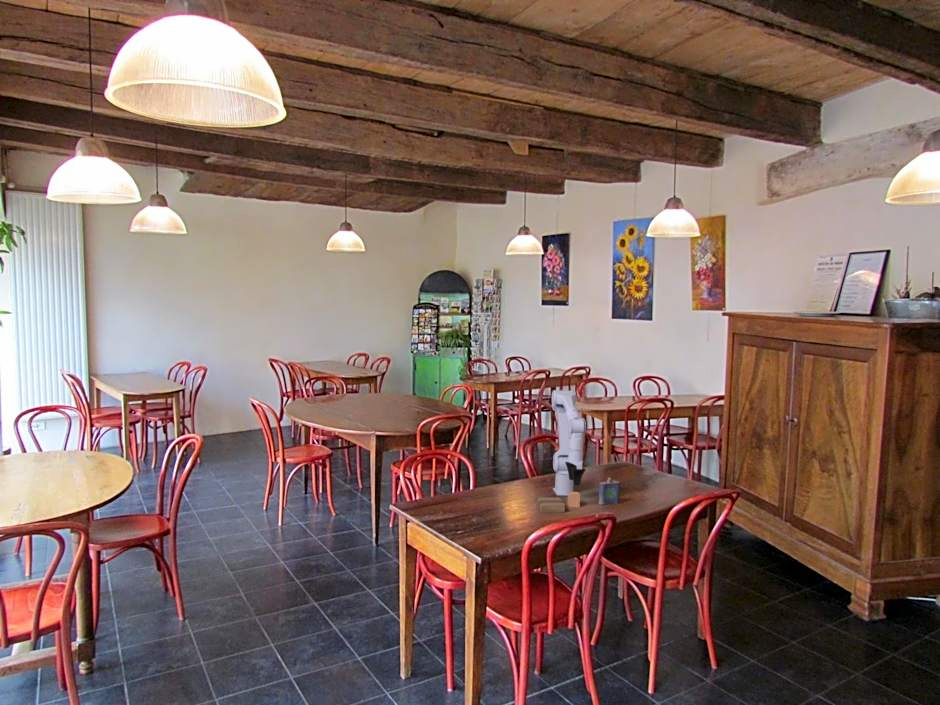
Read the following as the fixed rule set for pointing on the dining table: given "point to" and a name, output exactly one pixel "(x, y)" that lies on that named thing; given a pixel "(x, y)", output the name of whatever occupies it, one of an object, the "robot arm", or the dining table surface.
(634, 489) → the dining table surface
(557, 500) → the base
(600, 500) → the flask
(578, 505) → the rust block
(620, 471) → the dining table surface
